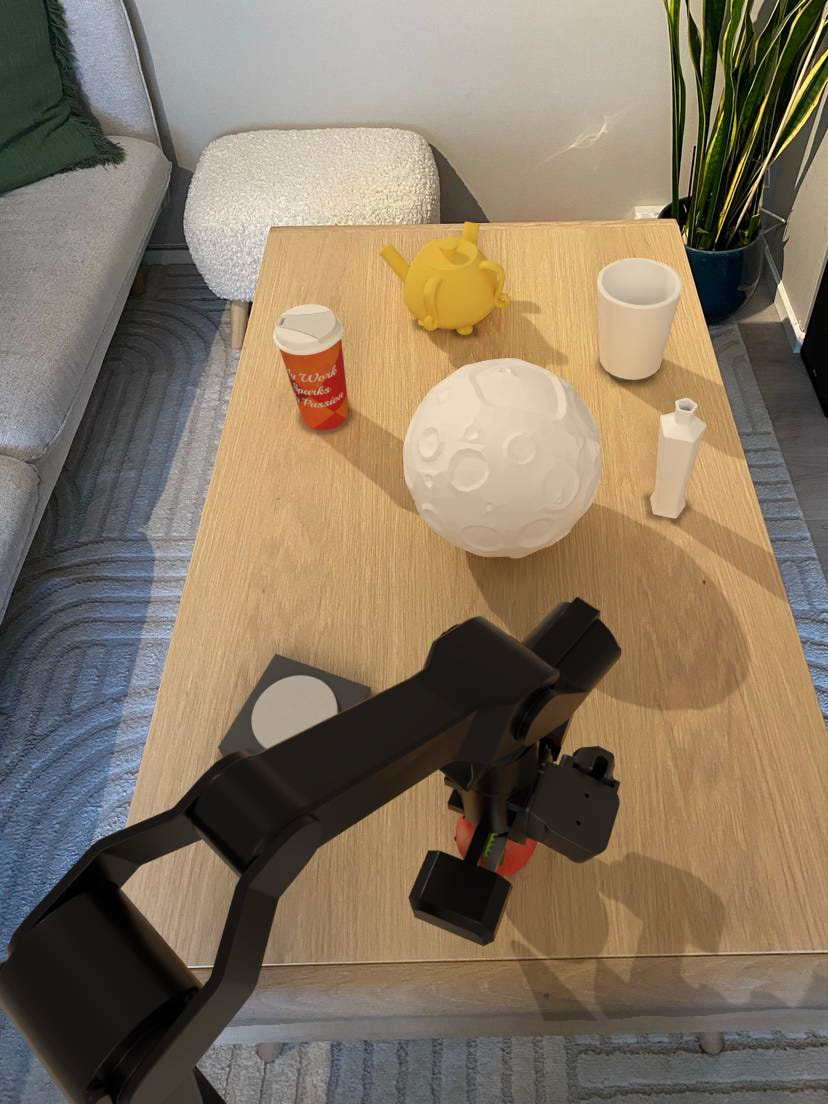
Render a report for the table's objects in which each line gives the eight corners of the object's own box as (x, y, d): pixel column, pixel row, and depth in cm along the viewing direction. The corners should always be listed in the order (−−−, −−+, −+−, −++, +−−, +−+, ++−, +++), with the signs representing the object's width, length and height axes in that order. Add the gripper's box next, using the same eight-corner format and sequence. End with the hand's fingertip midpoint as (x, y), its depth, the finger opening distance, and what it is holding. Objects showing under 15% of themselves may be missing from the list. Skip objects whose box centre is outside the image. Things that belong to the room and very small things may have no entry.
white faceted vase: (657, 526, 98) (676, 427, 87) (639, 497, 100) (655, 397, 89) (696, 515, 98) (719, 415, 87) (677, 486, 101) (697, 386, 90)
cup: (586, 341, 118) (592, 258, 109) (661, 337, 119) (674, 254, 109) (595, 393, 112) (603, 310, 102) (675, 389, 112) (690, 306, 102)
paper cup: (285, 433, 109) (261, 342, 98) (304, 389, 114) (283, 298, 103) (349, 439, 108) (331, 348, 97) (365, 395, 113) (350, 304, 102)
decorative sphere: (630, 556, 95) (650, 424, 81) (451, 623, 90) (439, 494, 76) (548, 434, 107) (554, 300, 93) (387, 486, 103) (366, 353, 88)
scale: (321, 796, 79) (317, 783, 77) (222, 757, 81) (215, 744, 80) (373, 697, 85) (369, 683, 83) (279, 664, 88) (274, 649, 86)
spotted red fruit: (443, 828, 77) (435, 778, 69) (516, 794, 78) (516, 742, 71) (481, 918, 72) (477, 874, 64) (558, 879, 74) (563, 833, 66)
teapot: (477, 269, 130) (474, 199, 122) (521, 323, 121) (521, 252, 113) (383, 298, 126) (373, 228, 118) (421, 356, 117) (414, 285, 109)
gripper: (567, 943, 54) (558, 1006, 65) (648, 676, 65) (628, 770, 77) (395, 872, 57) (415, 945, 68) (501, 629, 68) (503, 726, 80)
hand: (499, 840), depth 73 cm, fingers open, 8 cm apart
